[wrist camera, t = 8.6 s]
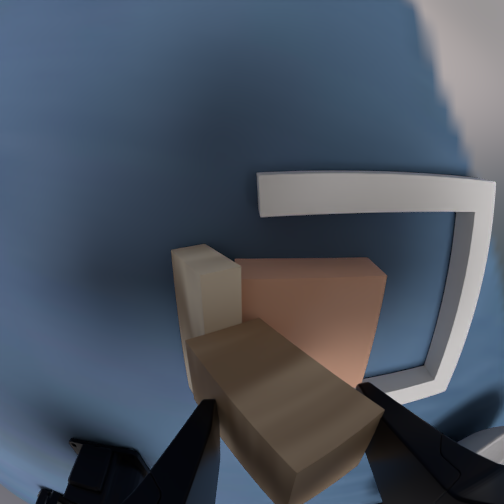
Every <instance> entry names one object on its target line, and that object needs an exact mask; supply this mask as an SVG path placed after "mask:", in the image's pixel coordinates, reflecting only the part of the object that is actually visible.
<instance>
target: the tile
mask: <svg viewBox="0 0 504 504" xmlns="http://www.w3.org/2000/svg"><path fill="white" fill-rule="evenodd" d="M235 263H237V264H238V265H240V266H241V298H242V323H243V322H246V321H249V320H253V319H256V318H260V319H262V320H263V321H264V322H265V323H267V324H268V325H269V326H271V327H272V328H273V329H274V330H276V331H277V332H278V333H280V334H281V335H282V336H284V337H285V338H286V339H288V340H289V341H290V342H291V343H293V344H294V345H295V346H297V347H298V348H299V349H301V350H302V351H303V352H305V353H306V354H307V355H309V356H310V357H312V358H313V359H314V360H316V361H317V362H318V363H320V364H321V365H322V366H324V367H325V368H326V369H328V370H329V371H331V372H332V373H333V374H335V375H336V376H338V377H339V378H340V379H342V380H343V381H345V382H346V383H347V384H349V385H350V386H352V387H353V388H356V386H357V384H359V383H362V380H363V377H364V373H365V370H366V366H367V363H368V359H369V356H370V352H371V348H372V344H373V340H374V336H375V332H376V328H377V324H378V319H379V315H380V310H381V305H382V301H383V296H384V290H385V285H386V280H387V275H386V274H385V273H384V272H383V271H382V270H381V269H380V268H379V267H377V266H376V265H375V264H374V263H373V262H372V261H371V260H370V259H369V258H368V257H356V258H263V259H235Z"/></svg>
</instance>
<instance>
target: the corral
mask: <svg viewBox="0 0 504 504" xmlns="http://www.w3.org/2000/svg"><path fill="white" fill-rule="evenodd" d="M495 189H496V182H494V181H490V180H485V179H481V178H475V177H465V176H455V175H443V174H429V173H413V172H391V171H346V170H327V171H281V172H258V173H257V192H258V210H259V214H260V217H273V216H293V215H316V214H342V213H378V212H456V219H455V229H454V237H453V245H452V251H451V258H450V264H449V270H448V275H447V280H446V286H445V290H444V295H443V300H442V304H441V308H440V312H439V316H438V320H437V324H436V328H435V331H434V335H433V338H432V342H431V345H430V348H429V352H428V355H427V358H426V361H425V364H424V366H420V367H416V368H412V369H408V370H404V371H399V372H395V373H391V374H386V375H381V376H376V377H371V378H366V379H363V380H362V383H364V382H370V383H372V384H373V385H374V386H376V387H377V388H379V389H380V390H381V391H383V392H384V393H385V394H387V395H388V396H390V397H391V398H392V399H394V400H395V401H397V402H398V403H399V404H405V403H409V402H412V401H416V400H419V399H422V398H426V397H429V396H432V395H435V394H438V393H441V392H444V391H446V388H447V386H448V384H449V381H450V379H451V377H452V374H453V372H454V369H455V367H456V364H457V362H458V359H459V357H460V354H461V351H462V348H463V346H464V343H465V340H466V337H467V334H468V331H469V328H470V325H471V321H472V318H473V315H474V311H475V308H476V304H477V300H478V296H479V293H480V288H481V284H482V280H483V275H484V271H485V266H486V261H487V255H488V250H489V244H490V237H491V230H492V222H493V214H494V203H495ZM354 389H356V388H354Z"/></svg>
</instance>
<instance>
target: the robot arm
mask: <svg viewBox="0 0 504 504" xmlns="http://www.w3.org/2000/svg"><path fill="white" fill-rule="evenodd" d="M356 390H357V391H359V392H360V393H361V394H363V395H364V396H366V397H367V398H369V399H370V400H372V401H373V402H374V403H376V404H377V405H379V406H380V407H382V408H383V409H385V410H384V413H383V415H382V417H381V418H380V421H379V423H378V426H377V428H376V430H375V433H374V435H373V437H372V439H371V441H370V443H369V445H368V447H367V449H366V451H365V453H366V456H367V458H368V461H369V464H370V467H371V470H372V472H373V475H374V478H375V481H376V484H377V487H378V489H379V492H380V495H381V498H382V501H383V504H504V465H501V464H498V463H496V462H494V461H492V460H489V459H487V458H485V457H483V456H481V455H479V454H477V453H475V452H473V451H471V450H469V449H467V448H465V447H463V446H462V445H460V444H458V443H457V442H455V441H453V440H452V439H450V438H449V437H447V436H446V435H444V434H443V433H442V434H441V432H440V431H438V430H437V429H435V428H434V427H432V426H431V425H430V424H428V423H427V422H425V421H424V420H422V419H421V418H419V417H418V416H417V415H415V414H414V413H412V412H411V411H409V410H408V409H407V408H405V407H404V406H402V405H401V404H399V403H398V402H397V401H395V400H394V399H392V398H391V397H390V396H388V395H387V394H385V393H384V392H383V391H381V390H380V389H379V388H377V387H376V386H374V385H373V384H372V383H370V382H364V383H359V384H357V386H356ZM69 444H70V445H71V447H72V448H73V449H74V451H75V452H76V453H77V454H78V456H77V458H76V461H75V463H74V466H73V468H72V471H71V473H70V476H69V478H68V482H69V483H68V485H67V488H66V491H65V493H64V496H61V495H60V494H59V493H57V492H56V491H54V490H53V491H52V492H50V491H47V490H44V489H41V491H40V494H39V496H38V499H37V501H36V504H215V498H216V490H217V482H218V474H219V465H220V421H219V416H218V411H217V405H216V400H215V399H203V400H202V401H201V402H200V403H199V405H198V406H197V408H196V409H195V410H194V412H193V413H192V415H191V416H190V417H189V419H188V420H187V422H186V423H185V424H184V426H183V427H182V429H181V430H180V431H179V433H178V434H177V435H176V437H175V438H174V439H173V441H172V442H171V444H170V445H169V446H168V448H167V449H166V450H165V452H164V453H163V454H162V456H161V457H160V458H159V460H158V461H157V462H156V464H155V465H154V466H153V467H152V469H151V470H150V471H149V469H148V467H147V466H146V464H145V463H144V461H143V460H142V458H141V456H140V455H139V453H138V452H136V451H134V450H129V449H123V448H117V447H111V446H106V445H101V444H96V443H91V442H87V441H82V440H78V439H74V438H70V440H69Z"/></svg>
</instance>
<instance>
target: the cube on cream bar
mask: <svg viewBox="0 0 504 504" xmlns="http://www.w3.org/2000/svg"><path fill="white" fill-rule="evenodd" d="M171 255H172V265H173V276H174V285H175V294H176V303H177V311H178V319H179V326H180V333H181V340H182V347H183V354H184V360H185V366H186V372H187V378H188V384H189V388H190V389H191V391H192V392H193V394H194V399H195V401H196V403H197V404H198V405H199V403H200V402H201V401H202V400H203V399H215V400H216V405H217V411H218V416H219V421H220V437H221V438H222V440H223V441H224V442H225V444H226V445H227V446H228V448H229V449H230V450H231V452H232V453H233V454H234V456H235V457H236V458H237V459H238V461H239V462H240V463H241V465H242V466H243V467H244V468H245V470H246V471H247V472H248V473H249V474H250V476H251V477H252V478H253V479H254V480H255V482H256V483H257V484H258V485H259V486H260V488H261V489H262V490H263V491H264V492H265V493H266V494H267V496H268V497H269V498H270V499H271V500H272V501H273V502H274V503H275V504H303V503H305V502H307V501H308V500H310V499H311V498H313V497H314V496H316V495H317V494H319V493H320V492H322V491H323V490H325V489H326V488H328V487H329V486H331V485H332V484H333V483H335V482H336V481H338V480H339V479H340V478H342V477H343V476H344V475H346V474H347V473H348V472H350V471H351V470H352V469H353V468H355V467H356V466H357V465H358V464H359V462H360V460H361V458H362V456H363V455H364V453H365V451H366V449H367V447H368V445H369V443H370V441H371V439H372V437H373V435H374V433H375V430H376V428H377V426H378V423H379V421H380V418H381V417H382V415H383V413H384V410H385V409H383V408H382V407H380V406H379V405H377V404H376V403H374V402H373V401H372V400H370V399H369V398H367V397H366V396H364V395H363V394H361V393H360V392H359V391H357V390H356V389H354V388H353V387H352V386H350V385H349V384H347V383H346V382H345V381H343V380H342V379H340V378H339V377H338V376H336V375H335V374H333V373H332V372H331V371H329V370H328V369H326V368H325V367H324V366H322V365H321V364H320V363H318V362H317V361H316V360H314V359H313V358H312V357H310V356H309V355H307V354H306V353H305V352H303V351H302V350H301V349H299V348H298V347H297V346H295V345H294V344H293V343H291V342H290V341H289V340H288V339H286V338H285V337H284V336H282V335H281V334H280V333H278V332H277V331H276V330H274V329H273V328H272V327H271V326H269V325H268V324H267V323H265V322H264V321H263V320H262V319H260V318H256V319H253V320H249V321H246V322H243V323H242V298H241V266H240V265H238V264H237V263H235V262H233V261H232V260H230V259H229V258H227V257H225V256H224V255H222V254H221V253H219V252H217V251H216V250H214V249H213V248H211V247H209V246H208V245H206V244H201V245H195V246H189V247H184V248H178V249H173V250H171Z"/></svg>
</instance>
